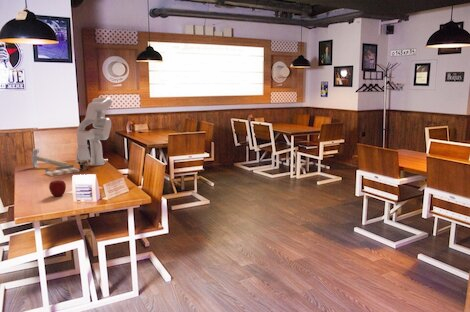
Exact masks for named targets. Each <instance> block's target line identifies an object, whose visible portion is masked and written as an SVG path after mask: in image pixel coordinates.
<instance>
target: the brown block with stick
mask: <svg viewBox="0 0 470 312" xmlns="http://www.w3.org/2000/svg"><path fill="white" fill-rule="evenodd" d="M82 165H83V169H81V171H82V170H83V171H86V170H87V169H88V170H89V167H88V166H90V163H89V164H88V162H86V161H82ZM88 170H87V171H88Z"/></svg>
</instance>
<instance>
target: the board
mask: <svg viewBox="0 0 470 312" xmlns="http://www.w3.org/2000/svg"><path fill="white" fill-rule="evenodd" d="M44 172H45V171H44ZM73 172H74V173H79V172H80V168H77V167H73V168H67V169H60V170H54V171H47V172H45V175H47V176H50V177H54V176H55V177H56V176H61V175H66V174H73Z"/></svg>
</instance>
